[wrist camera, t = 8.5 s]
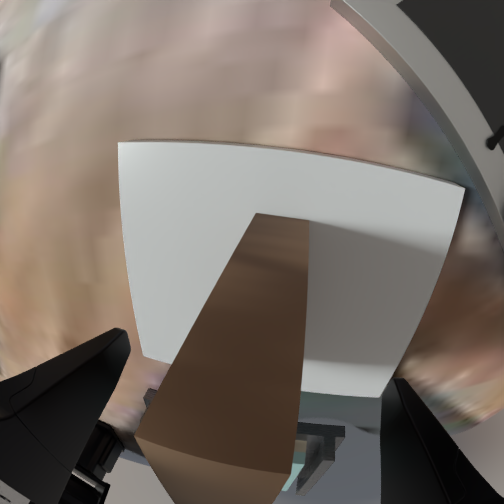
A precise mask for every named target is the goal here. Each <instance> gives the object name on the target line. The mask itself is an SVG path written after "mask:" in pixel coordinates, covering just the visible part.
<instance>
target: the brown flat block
mask: <svg viewBox="0 0 504 504" xmlns="http://www.w3.org/2000/svg"><path fill="white" fill-rule="evenodd" d="M308 265H309V220H304V219H297V218H290V217H283V216H276V215H269V214H262V213H255V215H254V217H253V219H252V220H251V222H250V224H249V226H248V227H247V229H246V231H245V233H244V234H243V236H242V238H241V240H240V242H239V243H238V245H237V247H236V249H235V250H234V252H233V254H232V256H231V257H230V259H229V261H228V263H227V265H226V266H225V268H224V270H223V272H222V274H221V275H220V277H219V279H218V281H217V283H216V284H215V286H214V288H213V290H212V292H211V293H210V295H209V297H208V299H207V301H206V302H205V304H204V306H203V308H202V310H201V311H200V313H199V315H198V317H197V319H196V321H195V322H194V324H193V326H192V328H191V330H190V331H189V333H188V335H187V337H186V339H185V341H184V343H183V344H182V346H181V348H180V350H179V352H178V354H177V355H176V357H175V359H174V361H173V363H172V365H171V367H170V368H169V370H168V372H167V374H166V376H165V378H164V380H163V381H162V383H161V385H160V387H159V389H158V391H157V393H156V395H155V396H154V398H153V400H152V402H151V404H150V406H149V408H148V410H147V412H146V413H145V415H144V417H143V419H142V421H141V423H140V425H139V427H138V429H137V431H136V433H135V434H134V437H135V439H136V441H137V443H138V445H139V447H140V448H141V450H142V452H143V454H144V456H145V457H146V459H147V461H148V462H149V464H150V466H151V468H152V469H153V471H154V473H155V474H156V476H157V477H158V479H159V481H160V482H161V483H162V485H163V487H164V488H165V490H166V491H167V493H168V494H169V496H170V497H171V499H172V500H173V502H174V503H175V504H272V503H273V502H274V500H275V499H276V497H277V496H278V494H279V493H280V491H281V490H282V488H283V487H284V485H285V483H286V482H287V480H288V479H289V477H290V475H291V470H292V463H293V456H294V448H295V440H296V432H297V423H298V414H299V405H300V394H301V384H302V372H303V359H304V346H305V331H306V313H307V292H308Z"/></svg>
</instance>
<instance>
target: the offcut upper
mask: <svg viewBox="0 0 504 504" xmlns="http://www.w3.org/2000/svg"><path fill="white" fill-rule="evenodd" d="M305 455H306V453H305V452H295V451H294V456H293V463H292V470H291V475H290V477H289V479H288V480H287V482H286V483H285V485H284V487H283V488H282V490H281V491H287V490H288V488H289V487H290V485H291V484H292V482H293V481H294V480H295V478H296V477H297V475H298V474H299V472H300V471H301V469H302V468H303V466H304V465H305Z"/></svg>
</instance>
